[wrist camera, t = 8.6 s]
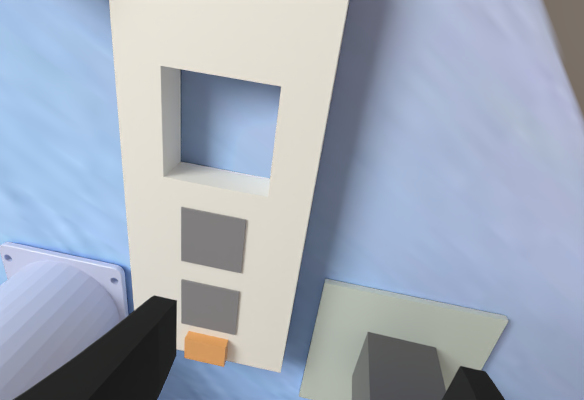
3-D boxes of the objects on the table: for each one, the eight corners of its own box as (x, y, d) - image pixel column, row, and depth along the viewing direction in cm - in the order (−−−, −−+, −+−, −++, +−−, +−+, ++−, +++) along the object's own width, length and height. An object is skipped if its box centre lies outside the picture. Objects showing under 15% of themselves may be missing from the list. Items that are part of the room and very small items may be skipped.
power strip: (285, 346, 24) (278, 381, 22) (152, 316, 25) (131, 348, 23) (361, -65, 14) (362, -79, 12) (130, -98, 15) (88, -117, 12)
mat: (446, 424, 26) (447, 430, 25) (299, 391, 26) (298, 396, 26) (505, 315, 21) (508, 321, 20) (325, 278, 22) (324, 283, 21)
